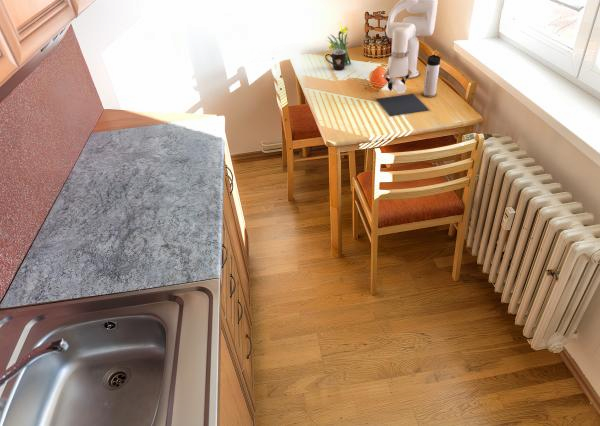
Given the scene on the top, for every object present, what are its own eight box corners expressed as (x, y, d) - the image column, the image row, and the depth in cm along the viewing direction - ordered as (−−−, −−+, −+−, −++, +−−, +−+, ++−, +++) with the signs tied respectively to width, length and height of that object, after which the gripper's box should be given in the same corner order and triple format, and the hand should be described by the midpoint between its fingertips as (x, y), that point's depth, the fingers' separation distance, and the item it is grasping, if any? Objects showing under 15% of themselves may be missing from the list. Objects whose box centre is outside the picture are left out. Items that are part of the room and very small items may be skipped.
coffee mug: (348, 67, 274) (348, 50, 267) (341, 71, 268) (341, 55, 262) (331, 64, 279) (331, 48, 272) (324, 68, 273) (324, 52, 267)
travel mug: (434, 91, 239) (439, 54, 226) (436, 97, 234) (441, 59, 221) (422, 92, 239) (427, 54, 227) (424, 97, 234) (428, 59, 222)
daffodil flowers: (327, 68, 276) (320, 36, 296) (346, 77, 283) (338, 45, 303) (343, 46, 265) (334, 14, 285) (362, 56, 272) (352, 24, 292)
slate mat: (376, 99, 235) (376, 98, 235) (412, 94, 238) (412, 93, 238) (390, 115, 220) (390, 115, 220) (428, 110, 222) (428, 109, 222)
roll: (396, 84, 238) (397, 74, 235) (406, 93, 229) (407, 82, 226) (386, 86, 238) (387, 75, 234) (394, 95, 228) (395, 84, 225)
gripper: (412, 49, 226) (409, 83, 237) (379, 53, 224) (377, 88, 235) (418, 54, 220) (414, 89, 231) (384, 58, 218) (382, 93, 229)
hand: (396, 88), depth 233 cm, fingers closed on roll, 6 cm apart
